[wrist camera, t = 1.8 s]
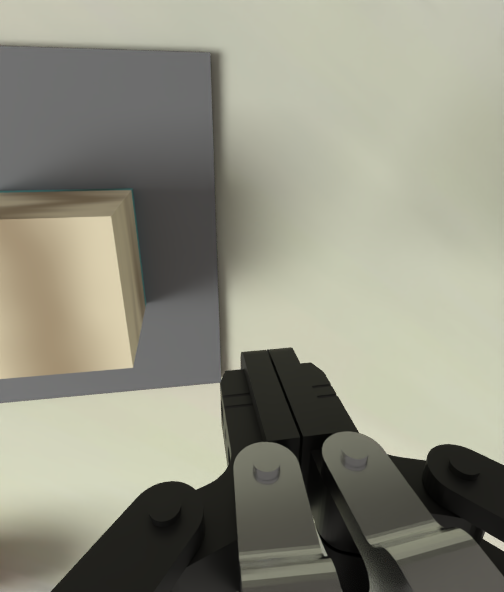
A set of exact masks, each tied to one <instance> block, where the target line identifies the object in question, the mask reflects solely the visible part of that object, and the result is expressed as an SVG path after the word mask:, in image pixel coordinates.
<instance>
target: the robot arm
mask: <svg viewBox="0 0 504 592" xmlns="http://www.w3.org/2000/svg"><path fill="white" fill-rule="evenodd" d="M220 391H221V418H222V430H223V437H224V444H225V450H226V458H227V465H228V467H227V469H226V470H225V472H224V473H223V474H222V475H221V476H220V477H219V478H218V479H216V480H215V481H213V482H212V483H210V484H208V485H206V486H203V487H201V488H199V489H197V490H195V489H194V488H193V487H191V486H190V485H188V484H185V483H182V482H175V481H170V482H163V483H159V484H157V485H154V486H152V487H150V488H148V489H147V490H145V491H144V492H143V493H141V494H140V495H139V496H138V497H137V498H136V499H135V500H134V502H133V503H132V504H131V505H130V506H129V507H128V508H127V509H126V510H125V511H124V512H123V514H122V515H121V516H120V517H119V518H118V519H117V520H116V521H115V522H114V523H113V524H112V526H111V527H110V528H109V529H108V530H107V531H106V532H105V533H104V534H103V535H102V536H101V537H100V539H99V540H98V541H97V542H96V543H95V544H94V545H93V546H92V547H91V548H90V549H89V551H88V552H87V553H86V554H85V555H84V556H83V557H82V558H81V559H80V560H79V561H78V563H77V564H76V565H75V566H74V567H73V568H72V569H71V570H70V571H69V572H68V573H67V575H66V576H65V577H64V578H63V579H62V580H61V581H60V582H59V583H58V584H57V585H56V587H55V588H54V589H53V590H52V591H51V592H504V551H502V550H500V549H499V548H497V547H495V546H494V545H492V544H490V543H489V542H487V541H485V540H484V539H482V538H483V536H484V533H485V532H487V533H488V534H490V535H492V536H494V537H495V538H497V539H499V540H500V541H502V542H504V465H502V464H500V463H498V462H496V461H494V460H491V459H489V458H487V457H485V456H483V455H481V454H479V453H477V452H475V451H473V450H470V449H468V448H465V447H462V446H458V445H451V444H444V445H439V446H436V447H434V448H433V449H431V450H430V452H429V453H428V456H427V460H426V461H425V460H417V459H410V458H402V457H396V456H392V455H388V454H386V452H385V451H384V449H383V448H382V447H381V446H380V445H379V444H378V443H377V442H376V441H374V440H373V439H372V438H370V437H368V436H366V435H363V434H360V433H359V432H358V430H357V428H356V427H355V425H354V423H353V422H352V420H351V418H350V416H349V415H348V413H347V411H346V410H345V408H344V406H343V404H342V403H341V401H340V399H339V398H338V396H336V392H335V391H334V389H333V387H332V386H331V384H330V382H329V380H328V379H327V377H326V375H325V373H324V372H323V371H322V370H320V369H319V368H318V367H316V366H315V365H314V364H312V363H301V364H300V362H299V360H298V358H297V356H296V354H295V352H294V350H293V348H281V349H270V350H267V351H266V350H260V351H248V352H241V370H230V371H225V374H224V376H223V378H222V380H221V382H220ZM313 519H314V520H313ZM314 522H315V523H314Z"/></svg>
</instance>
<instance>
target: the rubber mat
mask: <svg viewBox="0 0 504 592" xmlns="http://www.w3.org/2000/svg"><path fill="white" fill-rule="evenodd" d="M125 188H133V195H134V204H135V212H136V221H137V229H138V237H139V246H140V254H141V263H142V271H143V280H144V288H145V297H146V308H145V312H144V317H143V322H142V327H141V332H140V336H139V341H138V346H137V351H136V356H135V361H134V365H133V368H125V369H113V370H101V371H90V372H78V373H66V374H54V375H42V376H31V377H19V378H7V379H0V403H7V402H17V401H28V400H39V399H49V398H60V397H71V396H82V395H92V394H103V393H114V392H124V391H135V390H146V389H157V388H167V387H178V386H189V385H199V384H210V383H220V382H221V358H220V328H219V299H218V269H217V239H216V210H215V180H214V150H213V121H212V91H211V62H210V52H178V51H146V50H114V49H83V48H51V47H19V46H0V191H21V190H73V189H125Z"/></svg>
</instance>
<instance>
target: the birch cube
mask: <svg viewBox="0 0 504 592" xmlns="http://www.w3.org/2000/svg"><path fill="white" fill-rule="evenodd" d="M145 308H146V297H145V288H144V280H143V271H142V263H141V254H140V246H139V237H138V229H137V221H136V212H135V204H134V195H133V188H125V189H73V190H21V191H0V379H7V378H19V377H31V376H42V375H54V374H66V373H78V372H90V371H101V370H113V369H125V368H133V365H134V361H135V356H136V351H137V346H138V341H139V336H140V332H141V327H142V322H143V317H144V312H145Z"/></svg>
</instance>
